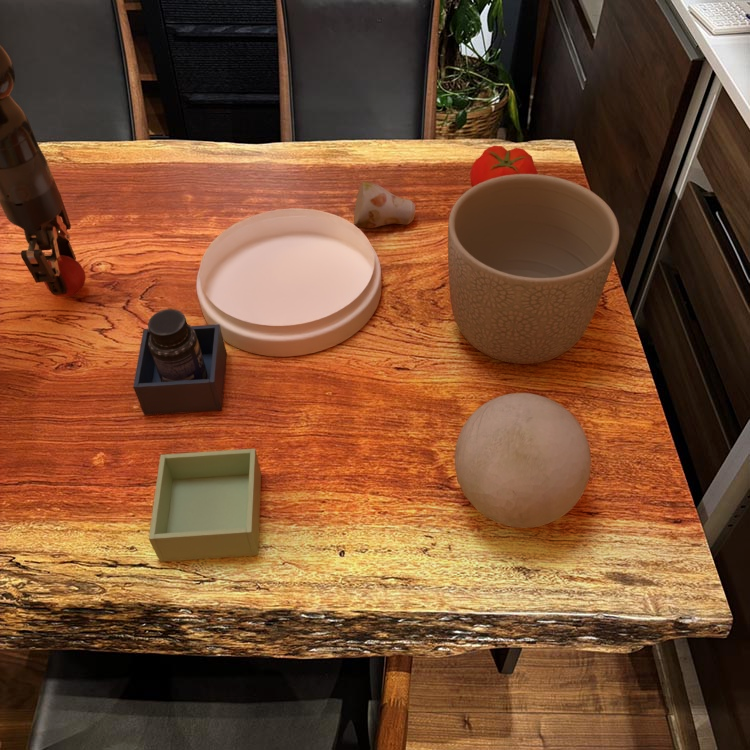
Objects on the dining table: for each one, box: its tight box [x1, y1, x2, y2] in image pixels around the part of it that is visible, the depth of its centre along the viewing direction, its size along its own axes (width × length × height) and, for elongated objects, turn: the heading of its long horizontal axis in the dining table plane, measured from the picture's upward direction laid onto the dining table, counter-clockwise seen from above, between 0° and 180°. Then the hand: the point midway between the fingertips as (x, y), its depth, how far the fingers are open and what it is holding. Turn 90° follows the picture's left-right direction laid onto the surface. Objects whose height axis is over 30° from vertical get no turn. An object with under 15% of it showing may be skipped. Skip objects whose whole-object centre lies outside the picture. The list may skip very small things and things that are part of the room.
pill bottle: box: [147, 308, 207, 382], centre depth 104 cm, size 6×6×11 cm
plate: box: [195, 207, 382, 358], centre depth 118 cm, size 27×27×6 cm
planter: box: [447, 173, 620, 365], centre depth 106 cm, size 21×21×19 cm
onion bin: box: [148, 448, 262, 563], centre depth 93 cm, size 11×11×5 cm
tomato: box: [470, 145, 539, 188], centre depth 131 cm, size 11×11×8 cm
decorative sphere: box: [454, 392, 592, 529], centre depth 90 cm, size 15×15×15 cm
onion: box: [43, 255, 87, 298], centre depth 118 cm, size 6×6×8 cm
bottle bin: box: [132, 324, 228, 416], centre depth 106 cm, size 10×10×6 cm
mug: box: [353, 181, 416, 229], centre depth 128 cm, size 8×10×10 cm
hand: (64, 277), depth 118 cm, fingers open, 6 cm apart
